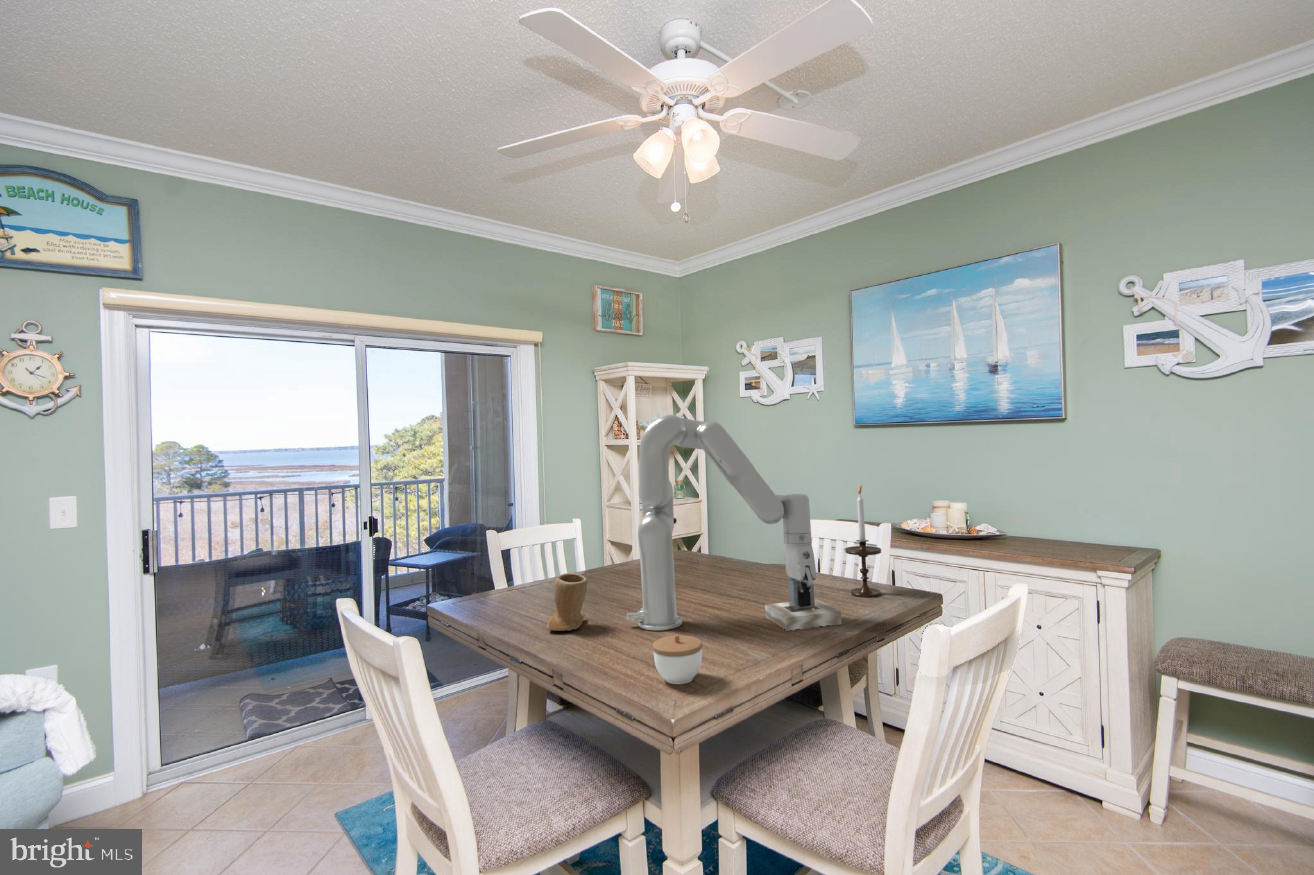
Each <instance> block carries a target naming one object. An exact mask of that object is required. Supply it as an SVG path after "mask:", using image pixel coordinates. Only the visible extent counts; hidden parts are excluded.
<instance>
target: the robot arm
mask: <svg viewBox="0 0 1314 875" xmlns="http://www.w3.org/2000/svg"><path fill="white" fill-rule="evenodd" d="M672 446H678V447H684V448H689V449H690V448H692V449H695V450H696V449H697V450H703V452H704V453H705V454H706V455H707V457H708V458H709V460H710V461H711V462H712V463H713V465H714V466H715V467H716V469H717V470H719V472H720V474H722V476H723V477H724V478H725V480H726V481H727V482H728V484H730V485H731V486H732V487H733V488H734V489H735V490H736V491H737V492H738V494H739V495H740V497H742V499H743V500H744V501H745V503H746V504H747V505H748V506H749V508H750V509H751V510H752V512H753V513H754V514H755V515H756V517H757V519H759V521H761V522H762V523H764V524H767V525H774V524H777V523H779V522H780V521H782V528H783V530H782V531H783V543H784V544H783V545H785V553H784V556H785V559H784V560H785V573H786V575H787V576H788V579H796V580H798V581H799V588H800V592H799V606H800V607H805V606H810V605H811V599H810V591H811V586H812V585H814V581H815V580H817V569H816V560H815V554H814V549H813V545H812V542H813V541H812V527H811V526H812V525H811V510H810V509H811V507H810V499H809V497H808V495H806V494H803V493H789V494H785V495H783V494H782V495H781V494H775V492H774V491H773V490H772V488H771V487H770V486H769V485H768V483H767V482H766V481H765V480H764V478H763V477H762V476H761V475H760V473H759V472H758V470H757V469H756V468H755V466H754V464H753V463H752V462H751V460H750V459H749V457H747V455H746V454H745V453H744V452H743V450H742V449H741V448H740V447H739V445H738V444H737V443H736V442H735V440H734V439H733V438H732V436H731V435H730V434H729V433H728V431H727V430H726V429H725V428H724V426H723V425H722V424H720V423H719V422H717V421H715V420H714V421H713V420H710V421H703V420H702V421H701V420H695V419H689V418H684V417H679V416H678V415H675V414H667V415H664V416H661V417H659V418H657V419H655V421H653V422H652V423H650V424H649V425H648V426H647V428H646V429H645V431H644V432H643V434H642V436H641V439H640V443H639V452H638V454H639V456H638V458H639V461H638V462H639V464H638V465H639V466H638V475H639V476H638V480H639V481H638V482H639V484H638V496H639V499H640V501H641V514H642V519H641V520H640V523H639V524H638V528H637V541H638V549H639V561H640V564H639V565H640V577H641V578H640V580H641V595H642V598H641V599H642V607H640V610H637V611H636V612H627V613H626V620H627V621H633V622H637V621H638V622H637V624H638V627H639V628H641V629H643V630H647V631H668V630H672V629H676V628H678V627H680V626H681V625H683V618H682V617H681V616H679V615H678V613H677V599H676V597H677V596H676V595H677V594H676V581H675V580H676V578H675V577H676V576H675V562H674V548H673V532H674V527H675V526H674V525H675V524H674V522H675V519H674V518H675V517H674V489H673V484H672V482H671V481H670V470H669V465H670V461H669V460H670V459H669V454H670V449H671V447H672ZM803 578H806V580H804V579H803ZM803 583H806V584H804V585H803Z"/></svg>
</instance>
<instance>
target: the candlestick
mask: <svg viewBox="0 0 1314 875" xmlns="http://www.w3.org/2000/svg"><path fill="white" fill-rule="evenodd" d="M862 486H863V485H862V484H861V485H860V487H859V490H858V497H857V498H856V505H857V506H856V507H857V520H858V521H857V522H858V523H857V524H858V536H859V537H858V539H857V540H855V541H856V542H858V545H856V546H855V545H854V546H847V547H845V549H844V550H845V552H844V553H846V554H847V555H848V554H849V555H853V556H858V558H861V559H860V560H861V567H860V568H859V572H860V574H861V577H860V579H861V580H862V585H861V587H856V588H852V589H851V590H850V595H851V596H853V597H857V598H858V597H859V598H866V599H867V598H878V597H880V596H881V594H882V592H881V590H880V589H877V588H873V587H869V585H868V580H869V579H870V578H869V577H868V573H869V572H870V570H869V569H868V568H867V557H869V556H875V555H879V554H881V553H882V549H881V547H878V546H871V545H867V542H870V540H868V539H866V528H865V527H866V525H865V523H866V522H865V511H864V510H865V509H864V508H865V507H864V499H863V498H862V495H861V494H862V488H863V487H862Z"/></svg>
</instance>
